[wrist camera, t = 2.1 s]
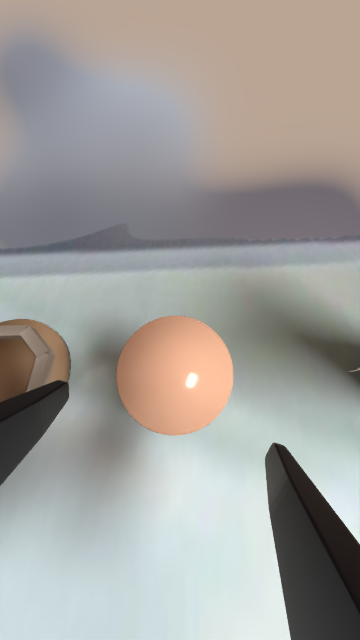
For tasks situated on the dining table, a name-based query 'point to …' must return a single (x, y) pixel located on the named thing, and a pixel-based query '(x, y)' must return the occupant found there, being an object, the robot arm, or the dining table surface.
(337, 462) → the dining table surface
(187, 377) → the peach rounded knob
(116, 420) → the dining table surface
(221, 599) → the dining table surface
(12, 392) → the flange seat
